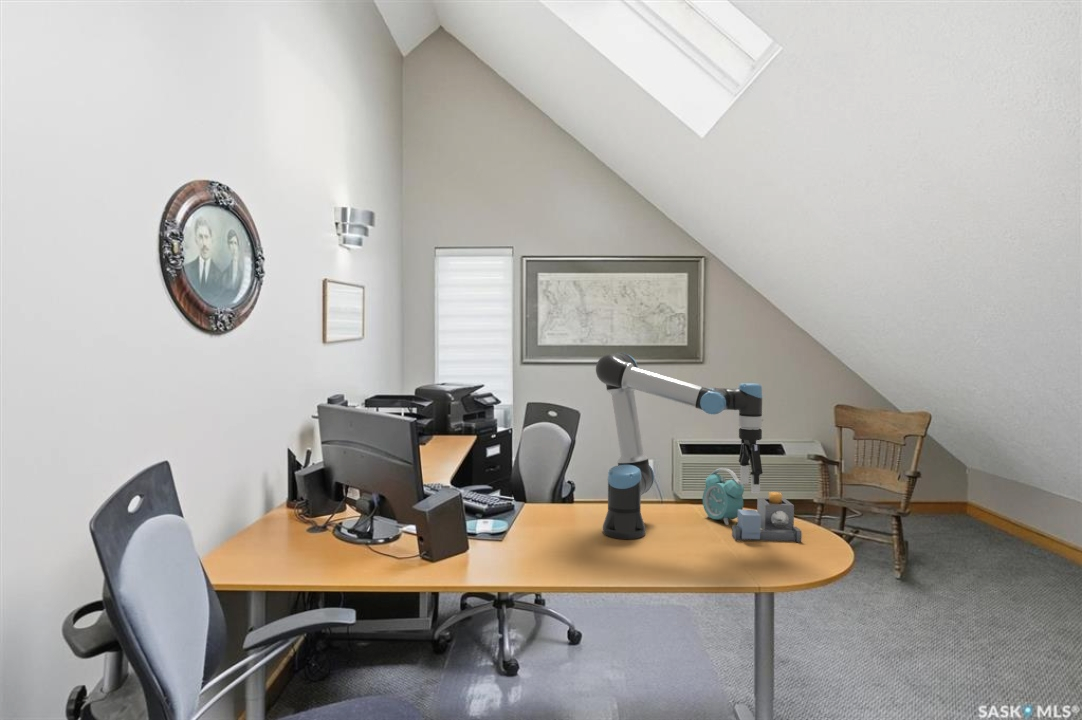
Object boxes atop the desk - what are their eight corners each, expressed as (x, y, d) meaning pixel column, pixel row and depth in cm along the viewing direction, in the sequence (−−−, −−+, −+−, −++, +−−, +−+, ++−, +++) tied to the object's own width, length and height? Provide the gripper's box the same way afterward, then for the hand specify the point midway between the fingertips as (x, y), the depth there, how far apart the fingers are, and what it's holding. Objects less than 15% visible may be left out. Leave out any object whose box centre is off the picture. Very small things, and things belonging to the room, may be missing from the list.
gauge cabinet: (765, 532, 215) (766, 505, 214) (757, 523, 225) (757, 497, 225) (794, 533, 214) (794, 505, 214) (784, 524, 225) (784, 498, 224)
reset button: (771, 504, 218) (771, 494, 218) (767, 501, 222) (767, 491, 222) (783, 504, 217) (783, 494, 217) (779, 501, 222) (779, 491, 222)
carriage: (742, 539, 205) (742, 515, 204) (737, 532, 212) (737, 509, 211) (760, 539, 204) (760, 515, 204) (754, 533, 211) (754, 509, 211)
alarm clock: (697, 515, 236) (698, 465, 235) (716, 512, 240) (717, 463, 239) (728, 527, 220) (729, 474, 220) (748, 524, 224) (748, 471, 224)
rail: (735, 540, 206) (735, 529, 206) (732, 536, 211) (732, 524, 211) (801, 542, 204) (801, 531, 204) (796, 537, 209) (796, 526, 209)
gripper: (772, 433, 194) (772, 498, 195) (751, 423, 219) (750, 480, 220) (749, 433, 195) (748, 497, 195) (730, 423, 220) (730, 480, 220)
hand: (749, 488), depth 207 cm, fingers open, 13 cm apart
